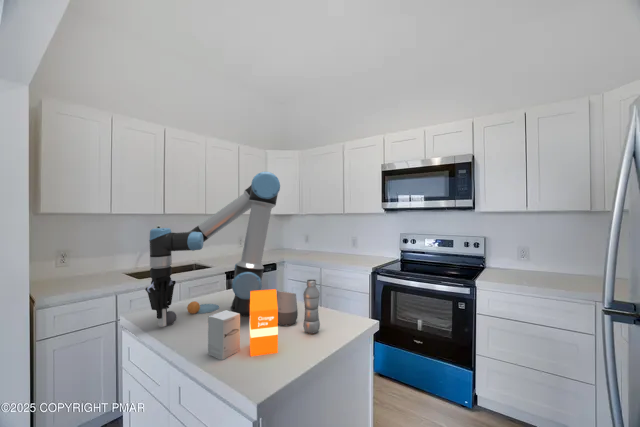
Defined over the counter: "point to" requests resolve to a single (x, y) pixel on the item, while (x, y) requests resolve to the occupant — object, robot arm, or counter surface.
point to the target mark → (207, 308)
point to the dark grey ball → (170, 317)
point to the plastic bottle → (311, 307)
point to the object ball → (193, 307)
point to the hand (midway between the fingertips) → (162, 325)
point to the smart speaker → (287, 308)
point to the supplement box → (223, 334)
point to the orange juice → (263, 322)
